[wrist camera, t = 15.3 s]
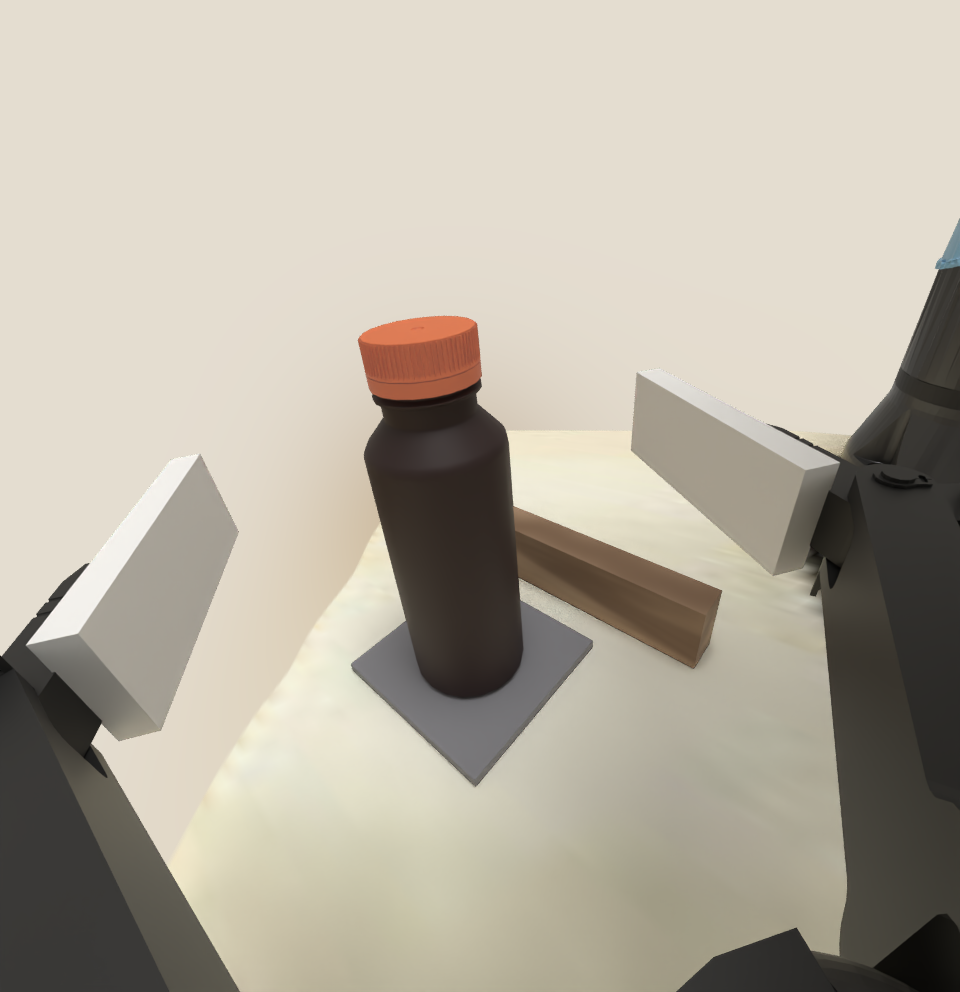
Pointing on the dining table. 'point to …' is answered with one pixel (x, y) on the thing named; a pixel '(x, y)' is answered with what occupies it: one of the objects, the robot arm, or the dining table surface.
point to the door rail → (617, 587)
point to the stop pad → (480, 719)
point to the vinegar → (445, 502)
